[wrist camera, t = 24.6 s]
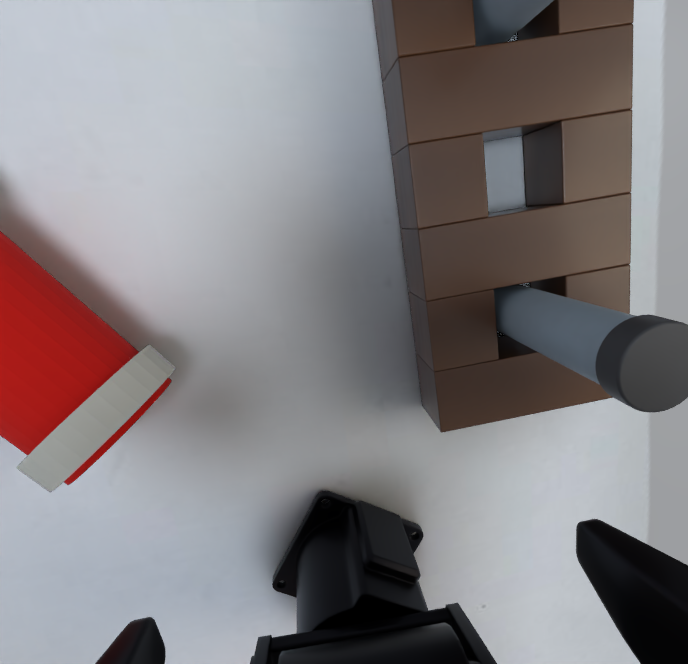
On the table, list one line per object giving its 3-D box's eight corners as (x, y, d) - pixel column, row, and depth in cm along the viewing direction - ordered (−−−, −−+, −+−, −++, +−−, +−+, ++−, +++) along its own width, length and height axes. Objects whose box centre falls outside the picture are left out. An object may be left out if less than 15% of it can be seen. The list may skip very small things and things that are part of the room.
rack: (587, 373, 23) (629, 394, 20) (422, 406, 22) (440, 433, 20) (580, -117, 18) (636, -184, 15) (360, -90, 17) (373, -155, 14)
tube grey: (485, 339, 22) (633, 429, 12) (465, 293, 21) (606, 350, 12) (532, 315, 22) (718, 385, 12) (513, 268, 21) (695, 304, 12)
